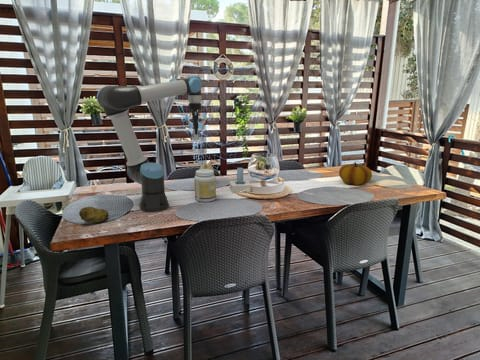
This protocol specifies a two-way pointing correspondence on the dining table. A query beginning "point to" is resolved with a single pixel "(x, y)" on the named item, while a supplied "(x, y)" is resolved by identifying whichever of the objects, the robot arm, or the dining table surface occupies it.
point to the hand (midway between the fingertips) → (195, 138)
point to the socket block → (239, 186)
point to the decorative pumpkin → (355, 174)
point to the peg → (239, 175)
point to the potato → (93, 214)
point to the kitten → (207, 166)
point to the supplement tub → (205, 185)
